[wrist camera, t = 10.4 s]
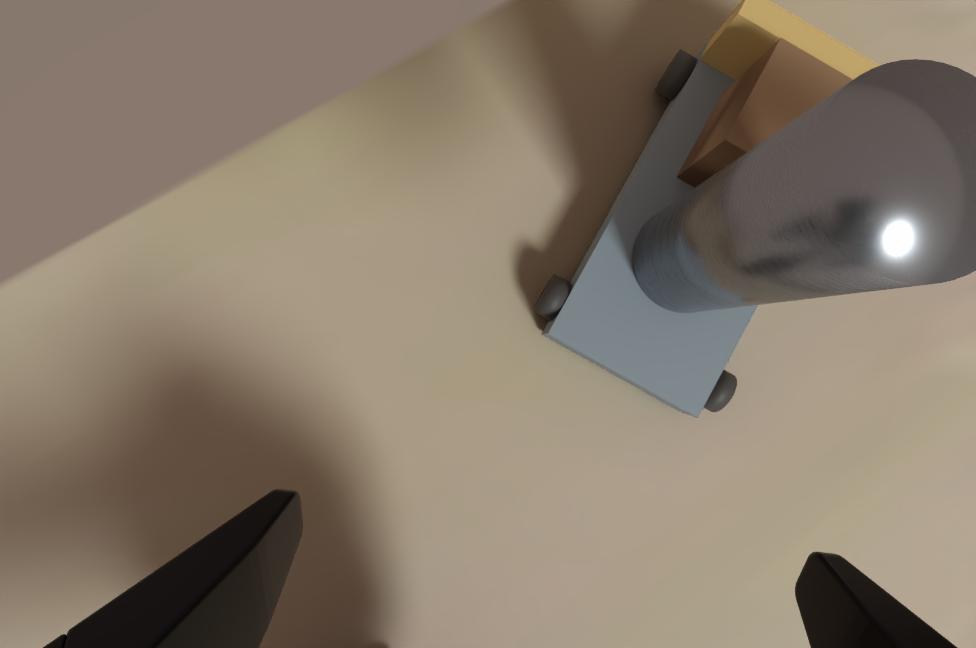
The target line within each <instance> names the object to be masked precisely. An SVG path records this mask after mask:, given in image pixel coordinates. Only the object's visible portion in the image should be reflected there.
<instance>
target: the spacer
mask: <svg viewBox="0 0 976 648" xmlns="http://www.w3.org/2000/svg"><path fill="white" fill-rule="evenodd" d="M632 268H633V272H634V275H635V278H636V281H637V283H638V285H639V287H640V288H641V290H642V291H643V292H644V294H645V295H646V296H647V297H648V298H649V299H650V300H651V301H653V302H654V303H655V304H657V305H658V306H660V307H662V308H664V309H667V310H670V311H673V312H678V313H694V312H702V311H711V310H719V309H727V308H736V307H744V306H752V305H761V304H769V303H777V302H786V301H794V300H802V299H811V298H819V297H827V296H836V295H844V294H852V293H860V292H869V291H877V290H885V289H894V288H902V287H910V286H919V285H927V284H935V283H942V282H946V281H951V280H955V279H957V278H960V277H963V276H966V275H968V274H970V273H972V272H973V271H975V270H976V77H974V76H973V75H971V74H969V73H967V72H965V71H963V70H961V69H959V68H957V67H954V66H951V65H948V64H945V63H941V62H936V61H931V60H917V59H915V60H901V61H896V62H891V63H887V64H884V65H881V66H878V67H875V68H873V69H871V70H869V71H867V72H865V73H863V74H861V75H859V76H858V77H857V78H855V79H854V80H852V81H851V82H849V83H848V84H846V85H845V86H843V87H842V88H840V89H839V90H837V91H836V92H835V93H833V94H832V95H830V96H829V97H827V98H826V99H824V100H823V101H821V102H820V103H818V104H817V105H815V106H814V107H812V108H811V109H810V110H808V111H807V112H805V113H804V114H802V115H801V116H799V117H798V118H796V119H795V120H793V121H792V122H790V123H789V124H788V125H786V126H785V127H783V128H782V129H780V130H779V131H777V132H776V133H774V134H773V135H771V136H770V137H768V138H767V139H766V140H764V141H763V142H761V143H760V144H758V145H757V146H755V147H754V148H752V149H751V150H749V151H748V152H746V153H745V154H744V155H742V156H741V157H739V158H738V159H736V160H735V161H733V162H732V163H730V164H729V165H727V166H726V167H724V168H723V169H721V170H720V171H719V172H717V173H716V174H714V175H713V176H711V177H710V178H708V179H707V180H705V181H704V182H702V183H701V184H699V185H698V186H697V187H695V188H694V189H692V190H691V191H689V192H688V193H686V194H685V195H683V196H682V197H680V198H679V199H677V200H676V201H675V202H673V203H672V204H670V205H669V206H667V207H666V208H664V209H663V210H661V211H660V212H658V213H657V214H655V215H654V216H653V217H651V218H650V219H649V220H648V221H647V222H646V223H645V224H644V225H643V227H642V228H641V230H640V231H639V233H638V235H637V237H636V239H635V242H634V245H633V250H632Z"/></svg>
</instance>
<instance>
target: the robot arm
mask: <svg viewBox="0 0 976 648" xmlns="http://www.w3.org/2000/svg"><path fill="white" fill-rule="evenodd" d="M302 530H303V521H302V511H301V501H300V495H299V493H298V492H296V491H293V490H284V489H275V490H273V491H271V492H270V493H268V494H267V495H265V496H264V497H262V498H261V499H259V500H258V501H256V502H255V503H254V504H252V505H251V506H249V507H248V508H246V509H245V510H243V511H242V512H240V513H239V514H237V515H236V516H235V517H233V518H232V519H230V520H229V521H227V522H226V523H224V524H223V525H221V526H220V527H218V528H217V529H216V530H214V531H213V532H211V533H210V534H208V535H207V536H205V537H204V538H202V539H201V540H200V541H198V542H197V543H195V544H194V545H192V546H191V547H189V548H188V549H186V550H185V551H183V552H182V553H181V554H179V555H178V556H176V557H175V558H173V559H172V560H170V561H169V562H167V563H166V564H164V565H163V566H162V567H160V568H159V569H157V570H156V571H154V572H153V573H151V574H150V575H148V576H147V577H146V578H144V579H143V580H141V581H140V582H138V583H137V584H135V585H134V586H132V587H131V588H129V589H128V590H127V591H125V592H124V593H122V594H121V595H119V596H118V597H116V598H115V599H113V600H112V601H110V602H109V603H108V604H106V605H105V606H103V607H102V608H100V609H99V610H97V611H96V612H94V613H93V614H92V615H90V616H89V617H87V618H86V619H84V620H83V621H81V622H80V623H78V624H77V625H75V626H74V627H73V628H71V629H70V630H69V631H68V633H67V635H66V634H63V635H61V636H59V637H58V638H56V639H55V640H53V641H52V642H50V643H49V644H47V645H46V646H44V647H43V648H258V647H259V645H260V643H261V641H262V638H263V636H264V634H265V632H266V630H267V627H268V625H269V623H270V620H271V618H272V615H273V613H274V610H275V607H276V605H277V602H278V599H279V596H280V594H281V591H282V588H283V586H284V583H285V580H286V577H287V575H288V572H289V569H290V566H291V564H292V561H293V558H294V555H295V553H296V550H297V547H298V544H299V542H300V539H301V535H302ZM795 595H796V600H797V604H798V607H799V610H800V613H801V617H802V620H803V623H804V627H805V630H806V633H807V636H808V640H809V643H810V646H811V648H957V647H956V646H955V645H953V644H952V643H951V642H950V641H948V640H947V639H946V638H944V637H943V636H942V635H941V634H939V633H938V632H937V631H936V630H934V629H933V628H932V627H930V626H929V625H928V624H927V623H925V622H924V621H923V620H922V619H920V618H919V617H918V616H917V615H915V614H914V613H913V612H911V611H910V610H909V609H908V608H906V607H905V606H904V605H903V604H901V603H900V602H899V601H898V600H896V599H895V598H894V597H892V596H891V595H890V594H889V593H887V592H886V591H885V590H884V589H882V588H881V587H880V586H878V585H877V584H876V583H875V582H873V581H872V580H871V579H870V578H868V577H867V576H866V575H865V574H863V573H862V572H861V571H859V570H858V569H857V568H856V567H854V566H853V565H852V564H851V563H849V562H848V561H847V560H846V559H844V558H843V557H841V556H839V555H837V554H832V553H823V552H813V553H812V554H810V555H809V557H808V558H807V561H806V563H805V565H804V567H803V569H802V571H801V574H800V576H799V578H798V580H797V582H796V587H795Z"/></svg>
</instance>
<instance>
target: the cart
mask: <svg viewBox="0 0 976 648" xmlns="http://www.w3.org/2000/svg"><path fill="white" fill-rule="evenodd" d="M780 38H783V39H785V40H786V41H788V42H790V43H791V44H793V45H795V46H797V47H798V48H800V49H802V50H803V51H805V52H807V53H809V54H810V55H812V56H814V57H815V58H817V59H819V60H821V61H822V62H824V63H826V64H827V65H829V66H831V67H832V68H834V69H836V70H838V71H839V72H841V73H843V74H844V75H846V76H848V77H850V78H851V79H853V80H854V79H855V78H857V77H858V76H859V75H861V74H863V73H865V72H867V71H869V70H871V69H873V68H875V67H878V66H880V65H878V64H877V63H875V62H873V61H871V60H870V59H868V58H866V57H865V56H863V55H861V54H860V53H858V52H856V51H854V50H853V49H851V48H849V47H848V46H846V45H844V44H842V43H841V42H839V41H837V40H836V39H834V38H832V37H831V36H829V35H827V34H825V33H824V32H822V31H820V30H819V29H817V28H815V27H813V26H812V25H810V24H808V23H807V22H805V21H803V20H802V19H800V18H798V17H796V16H795V15H793V14H791V13H790V12H788V11H786V10H784V9H783V8H781V7H779V6H778V5H776V4H774V3H773V2H771V1H769V0H742V2H741V3H740V4H739V5H738V6H737V8H736V9H735V10H734V11H733V13H732V14H731V15H730V16H729V17H728V19H727V20H726V21H725V22H724V24H723V25H722V26H721V27H720V28H719V30H718V31H717V32H716V33H715V35H714V36H713V37H712V38H711V39H710V41H709V42H708V43H707V44H706V45H705V47H704V48H703V49H702V50H701V52H700V53H699V54H698V55H697V56H696V58H695V57H693V56H691V55H689V54H688V53H686V52H684V51H683V50H681V49H680V50H679V52H678V53H677V54H676V56H675V57H674V59H673V60H672V62H671V63H670V65H669V66H668V68H667V70H666V71H665V73H664V75H663V76H662V78H661V80H660V82H659V83H658V85H657V87H656V89H655V91H656V92H658V93H659V94H661V95H663V96H664V97H666V98H668V99H670V100H671V101H670V103H669V104H668V106H667V108H666V110H665V112H664V113H663V115H662V117H661V119H660V121H659V122H658V124H657V126H656V128H655V130H654V131H653V133H652V135H651V137H650V139H649V140H648V142H647V144H646V146H645V148H644V150H643V151H642V153H641V155H640V157H639V159H638V160H637V162H636V164H635V166H634V168H633V169H632V171H631V173H630V175H629V177H628V178H627V180H626V182H625V184H624V186H623V187H622V189H621V191H620V193H619V195H618V197H617V198H616V200H615V202H614V204H613V206H612V207H611V209H610V211H609V213H608V215H607V216H606V218H605V220H604V222H603V224H602V225H601V227H600V229H599V231H598V233H597V234H596V236H595V238H594V240H593V242H592V244H591V245H590V247H589V249H588V251H587V253H586V254H585V256H584V258H583V260H582V262H581V263H580V265H579V267H578V269H577V271H576V272H575V274H574V276H573V278H572V280H571V281H570V283H569V282H568V281H566V280H564V279H562V278H561V277H559V276H557V275H555V274H554V275H553V277H552V278H551V279H550V281H549V282H548V284H547V285H546V287H545V289H544V290H543V292H542V294H541V296H540V298H539V300H538V301H537V303H536V306H535V308H534V312H535V313H537V314H539V315H540V316H542V317H544V318H546V319H548V320H549V321H548V323H547V325H546V327H545V328H544V330H543V332H542V335H544V336H546V337H548V338H549V339H551V340H553V341H555V342H556V343H558V344H560V345H562V346H564V347H565V348H567V349H569V350H571V351H573V352H574V353H576V354H578V355H580V356H581V357H583V358H585V359H587V360H589V361H590V362H592V363H594V364H596V365H597V366H599V367H601V368H603V369H605V370H606V371H608V372H610V373H612V374H613V375H615V376H617V377H619V378H621V379H622V380H624V381H626V382H628V383H630V384H631V385H633V386H635V387H637V388H638V389H640V390H642V391H644V392H646V393H647V394H649V395H651V396H653V397H654V398H656V399H658V400H660V401H662V402H663V403H665V404H667V405H669V406H671V407H672V408H674V409H676V410H678V411H679V412H682V413H685V414H688V415H691V416H694V417H697V418H698V416H699V415H700V413H701V411H702V409H703V407H704V408H706V409H708V410H709V411H711V412H717V411H719V410H721V409H722V408H724V407H725V406H726V405H727V404H728V402H729V401H730V400H731V398H732V396H733V395H734V392H735V390H736V386H737V379H736V377H735V376H734V375H732V374H730V373H729V372H727V371H725V370H724V368H725V366H726V364H727V362H728V360H729V358H730V357H731V355H732V353H733V351H734V349H735V347H736V345H737V343H738V342H739V340H740V338H741V336H742V334H743V332H744V330H745V328H746V327H747V325H748V323H749V321H750V319H751V317H752V315H753V314H754V312H755V310H756V308H757V306H758V305H752V306H744V307H736V308H727V309H719V310H711V311H702V312H694V313H678V312H673V311H670V310H667V309H664V308H662V307H660V306H658V305H657V304H655V303H654V302H653V301H651V300H650V299H649V298H648V297H647V296H646V295H645V294H644V292H643V291H642V290H641V288H640V287H639V285H638V283H637V281H636V278H635V275H634V272H633V268H632V250H633V245H634V242H635V239H636V237H637V235H638V233H639V231H640V230H641V228H642V227H643V225H644V224H645V223H646V222H647V221H648V220H649V219H650V218H651V217H653V216H654V215H655V214H657V213H658V212H660V211H661V210H663V209H664V208H666V207H667V206H669V205H670V204H672V203H673V202H675V201H676V200H677V199H679V198H680V197H682V196H683V195H685V194H686V193H688V192H689V191H691V190H692V189H694V187H693V186H691V185H689V184H687V183H686V182H684V181H682V180H680V179H679V178H677V175H678V173H679V171H680V169H681V167H682V166H683V164H684V162H685V160H686V158H687V157H688V155H689V153H690V151H691V149H692V147H693V146H694V144H695V142H696V140H697V138H698V136H699V135H700V133H701V131H702V129H703V127H704V126H705V124H706V122H707V120H708V118H709V116H710V115H711V113H712V111H713V109H714V107H715V106H716V104H717V102H718V100H719V98H720V96H721V95H722V93H723V92H724V91H725V90H726V89H728V88H729V87H730V86H731V85H732V84H733V83H734V82H735V81H736V80H737V79H738V78H739V77H740V76H741V75H742V74H743V73H744V72H745V71H746V70H748V69H749V68H750V67H751V66H752V65H753V64H754V63H755V62H756V61H757V60H758V59H759V58H760V57H761V56H762V55H763V54H764V53H765V52H766V51H767V50H769V49H770V48H771V47H772V46H773V45H774V44H775V43H776V42H777V41H778V40H779V39H780Z"/></svg>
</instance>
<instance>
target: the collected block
mask: <svg viewBox="0 0 976 648" xmlns="http://www.w3.org/2000/svg"><path fill="white" fill-rule="evenodd" d="M852 80H853V79H851V78H850V77H848V76H846V75H844V74H843V73H841V72H839V71H838V70H836V69H834V68H832V67H831V66H829V65H827V64H826V63H824V62H822V61H821V60H819V59H817V58H815V57H814V56H812V55H810V54H809V53H807V52H805V51H803V50H802V49H800V48H798V47H797V46H795V45H793V44H791V43H790V42H788V41H786V40H785V39H783V38H780V39H779V40H778V41H777V42H776V43H775V44H774V45H773V46H772V47H771V48H770V49H769V50H767V51H766V52H765V53H764V54H763V55H762V56H761V57H760V58H759V59H758V60H757V61H756V62H755V63H754V64H753V65H752V66H751V67H750V68H749V69H748V70H746V71H745V72H744V73H743V74H742V75H741V76H740V77H739V78H738V79H737V80H736V81H735V82H734V83H733V84H732V85H731V86H730V87H729V88H728V89H726V90H725V91H724V92H723V93H722V95H721V96H720V98H719V100H718V102H717V104H716V106H715V107H714V109H713V111H712V113H711V115H710V116H709V118H708V120H707V122H706V124H705V126H704V127H703V129H702V131H701V133H700V135H699V136H698V138H697V140H696V142H695V144H694V146H693V147H692V149H691V151H690V153H689V155H688V157H687V158H686V160H685V162H684V164H683V166H682V167H681V169H680V171H679V173H678V175H677V178H679V179H680V180H682V181H684V182H686V183H687V184H689V185H691V186H693V187H694V188H695V187H697V186H698V185H699V184H701V183H702V182H704V181H705V180H707V179H708V178H710V177H711V176H713V175H714V174H716V173H717V172H719V171H720V170H721V169H723V168H724V167H726V166H727V165H729V164H730V163H732V162H733V161H735V160H736V159H738V158H739V157H741V156H742V155H744V154H745V153H746V152H748V151H749V150H751V149H752V148H754V147H755V146H757V145H758V144H760V143H761V142H763V141H764V140H766V139H767V138H768V137H770V136H771V135H773V134H774V133H776V132H777V131H779V130H780V129H782V128H783V127H785V126H786V125H788V124H789V123H790V122H792V121H793V120H795V119H796V118H798V117H799V116H801V115H802V114H804V113H805V112H807V111H808V110H810V109H811V108H812V107H814V106H815V105H817V104H818V103H820V102H821V101H823V100H824V99H826V98H827V97H829V96H830V95H832V94H833V93H835V92H836V91H837V90H839V89H840V88H842V87H843V86H845V85H846V84H848V83H849V82H851V81H852Z"/></svg>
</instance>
